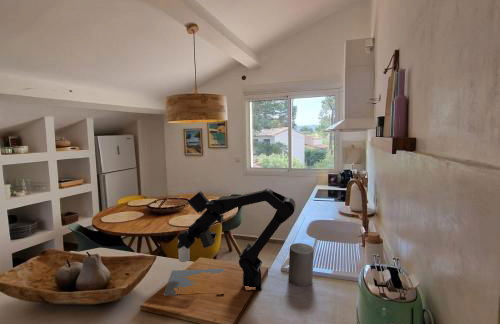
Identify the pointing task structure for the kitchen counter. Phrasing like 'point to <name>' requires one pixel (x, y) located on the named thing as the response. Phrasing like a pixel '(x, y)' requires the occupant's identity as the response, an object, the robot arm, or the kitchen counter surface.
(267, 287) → the kitchen counter surface
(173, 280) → the desk mat
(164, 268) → the kitchen counter surface
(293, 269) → the pillar candle
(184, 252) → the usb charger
